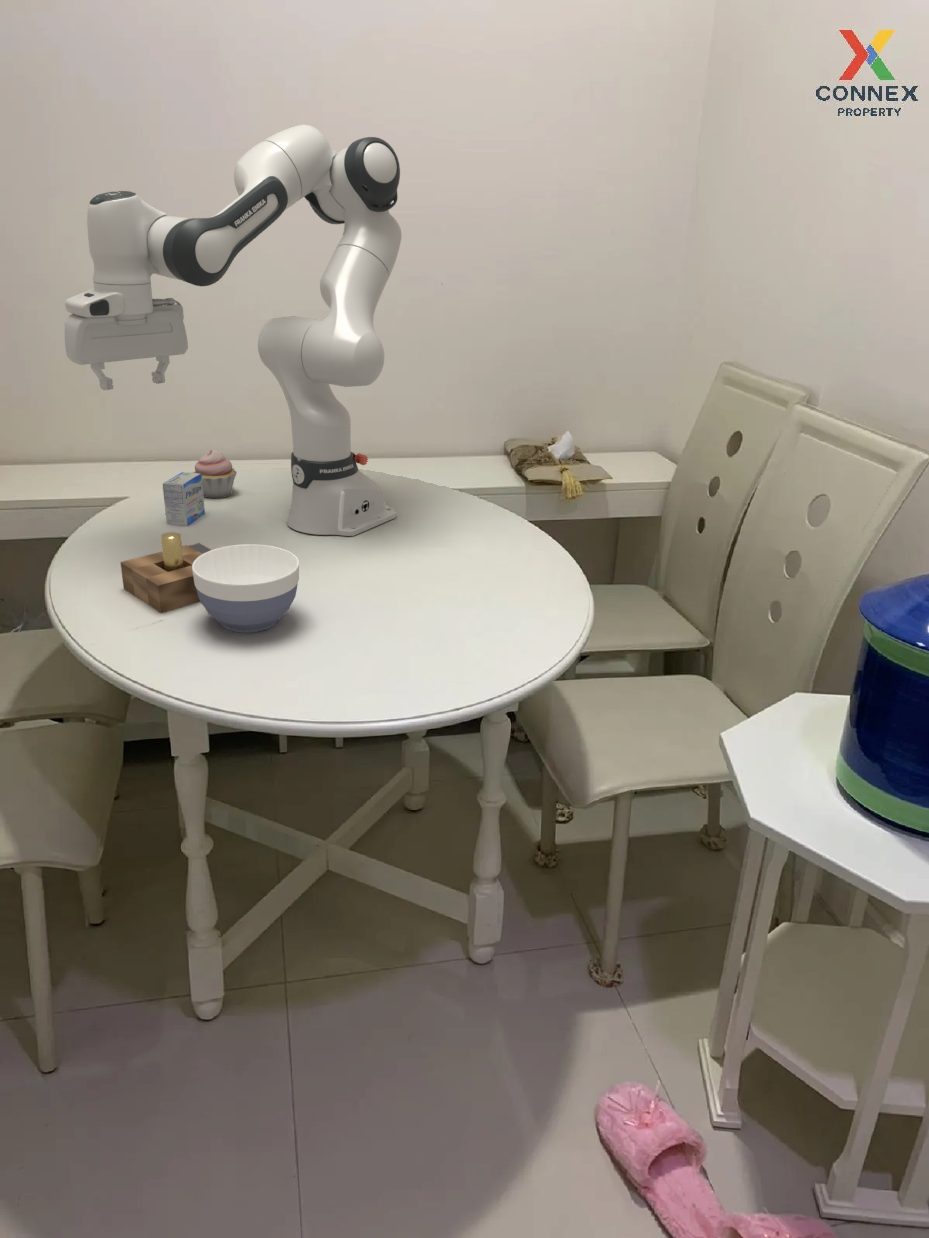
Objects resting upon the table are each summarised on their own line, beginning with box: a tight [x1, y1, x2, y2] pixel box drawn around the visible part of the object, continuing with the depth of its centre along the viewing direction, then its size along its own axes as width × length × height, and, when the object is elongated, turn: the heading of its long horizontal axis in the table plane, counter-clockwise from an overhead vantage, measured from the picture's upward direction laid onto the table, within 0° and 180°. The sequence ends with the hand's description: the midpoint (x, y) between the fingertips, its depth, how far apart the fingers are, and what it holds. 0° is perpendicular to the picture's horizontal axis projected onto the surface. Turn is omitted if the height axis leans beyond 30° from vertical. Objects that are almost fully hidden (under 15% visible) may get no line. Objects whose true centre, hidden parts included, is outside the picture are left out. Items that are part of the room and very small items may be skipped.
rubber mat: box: [188, 542, 212, 554], centre depth 165 cm, size 10×8×1 cm
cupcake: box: [192, 447, 238, 499], centre depth 195 cm, size 9×9×10 cm
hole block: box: [120, 544, 202, 614], centre depth 151 cm, size 12×12×5 cm
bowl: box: [192, 543, 300, 634], centre depth 142 cm, size 16×16×10 cm
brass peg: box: [160, 531, 184, 572], centre depth 150 cm, size 3×3×10 cm
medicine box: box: [162, 471, 206, 527], centre depth 180 cm, size 8×4×9 cm, turn 168°
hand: (133, 386), depth 157 cm, fingers open, 8 cm apart
